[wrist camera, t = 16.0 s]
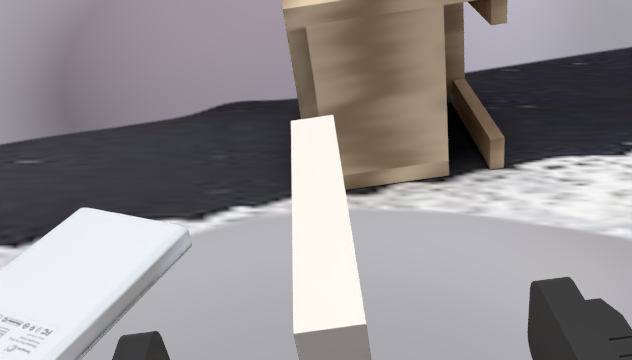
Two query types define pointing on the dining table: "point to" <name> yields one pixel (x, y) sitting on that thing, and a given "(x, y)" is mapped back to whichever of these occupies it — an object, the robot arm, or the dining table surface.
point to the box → (389, 82)
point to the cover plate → (323, 250)
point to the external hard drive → (82, 282)
